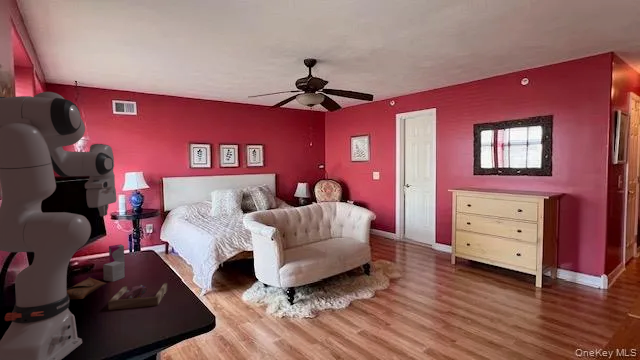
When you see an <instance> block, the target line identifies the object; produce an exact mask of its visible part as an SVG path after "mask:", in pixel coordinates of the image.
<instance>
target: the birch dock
mask: <svg viewBox="0 0 640 360" xmlns="http://www.w3.org/2000/svg"><path fill="white" fill-rule="evenodd" d="M127 290H128V286H127V285H125V286H122V287H121V288H120V290H118V292H117V293H115V294H114V295H113V297H111V299H110V300H108V302H107V303H108V310H110V311H111V310H121V309H122V310H123V309H130V308H131V309H133V308H144V307H154V306H155V307H156V306H158V305H159V304H160V303H161V301H162V299H163V297H164V296H165V295H166V293H167V292H168V283H167V282H164V283H163V284H162V286H161V287H160V288H159V290H158V291H157V292H156V295H154V296H146V297H145V296H144V297H140V298H134V297H133V298H132V299H120V300H118V299H119V298H120V297H121V296H122V295H123V294H124V293H125V292H126V291H127ZM164 294H165V295H164Z"/></svg>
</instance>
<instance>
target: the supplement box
mask: <svg viewBox="0 0 640 360" xmlns="http://www.w3.org/2000/svg"><path fill="white" fill-rule="evenodd" d="M108 253H109V255H108V256H109V257H108V258H109V263H111V262H114V261H117V262H124V269H125V268H126V267H125V264H126V262H125V246H124V245H123V244H114V245H109V246H108Z"/></svg>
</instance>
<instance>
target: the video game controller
mask: <svg viewBox="0 0 640 360" xmlns="http://www.w3.org/2000/svg"><path fill="white" fill-rule="evenodd" d="M147 291H148V288H147V287H146V285H145V286H144V285H142V284H140V285H135V286H132V287H131V288H130V289H127V291H126V292H125V293H124V294H123V295H122V296H121V297H120V298H119V299H118V300H120V299H132V298H142V296H144V294H146V292H147Z"/></svg>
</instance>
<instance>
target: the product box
mask: <svg viewBox="0 0 640 360" xmlns="http://www.w3.org/2000/svg"><path fill="white" fill-rule="evenodd" d="M102 265H103V270H102V271H103V280H104V281H106V282H116V281H119V280H121V279H124V278H125V268H124V262H117V261H114V262H111V263H110V262H108V263H104V264H102Z"/></svg>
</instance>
